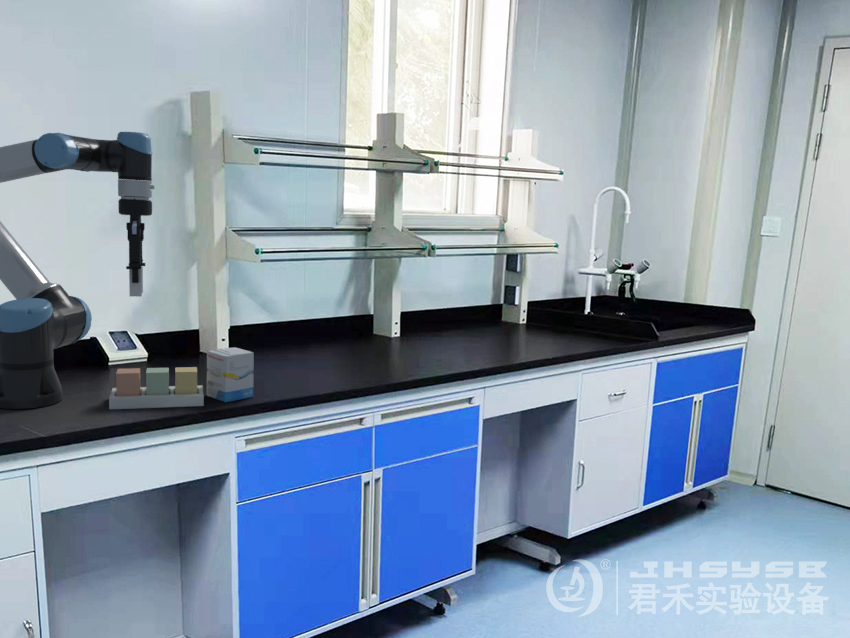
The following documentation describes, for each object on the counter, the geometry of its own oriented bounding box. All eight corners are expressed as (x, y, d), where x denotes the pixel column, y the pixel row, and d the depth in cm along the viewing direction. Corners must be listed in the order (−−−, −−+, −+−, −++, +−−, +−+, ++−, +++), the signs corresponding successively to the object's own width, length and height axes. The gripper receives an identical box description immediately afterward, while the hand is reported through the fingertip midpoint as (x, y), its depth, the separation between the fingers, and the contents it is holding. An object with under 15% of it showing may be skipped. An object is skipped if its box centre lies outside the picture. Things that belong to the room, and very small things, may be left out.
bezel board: (109, 409, 172) (109, 398, 171) (112, 398, 181) (112, 387, 181) (203, 405, 178) (203, 395, 178) (202, 395, 188) (202, 385, 187)
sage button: (146, 397, 176) (146, 372, 175) (147, 392, 181) (146, 368, 180) (168, 397, 178) (168, 372, 177) (168, 391, 182) (168, 367, 182)
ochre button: (175, 396, 178) (175, 372, 177) (175, 391, 183) (175, 367, 182) (197, 396, 180) (197, 371, 179) (196, 390, 185) (196, 367, 184)
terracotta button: (116, 398, 174) (116, 373, 173) (118, 393, 179) (117, 368, 178) (139, 397, 176) (139, 373, 175) (140, 392, 180) (140, 368, 180)
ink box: (254, 397, 188) (254, 351, 186) (225, 402, 182) (225, 356, 180) (234, 390, 194) (235, 346, 192) (205, 395, 187) (205, 350, 186)
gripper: (150, 199, 171) (151, 299, 175) (153, 198, 189) (153, 289, 193) (115, 198, 169) (116, 299, 173) (121, 197, 187) (122, 289, 190)
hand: (136, 294), depth 183 cm, fingers open, 6 cm apart
